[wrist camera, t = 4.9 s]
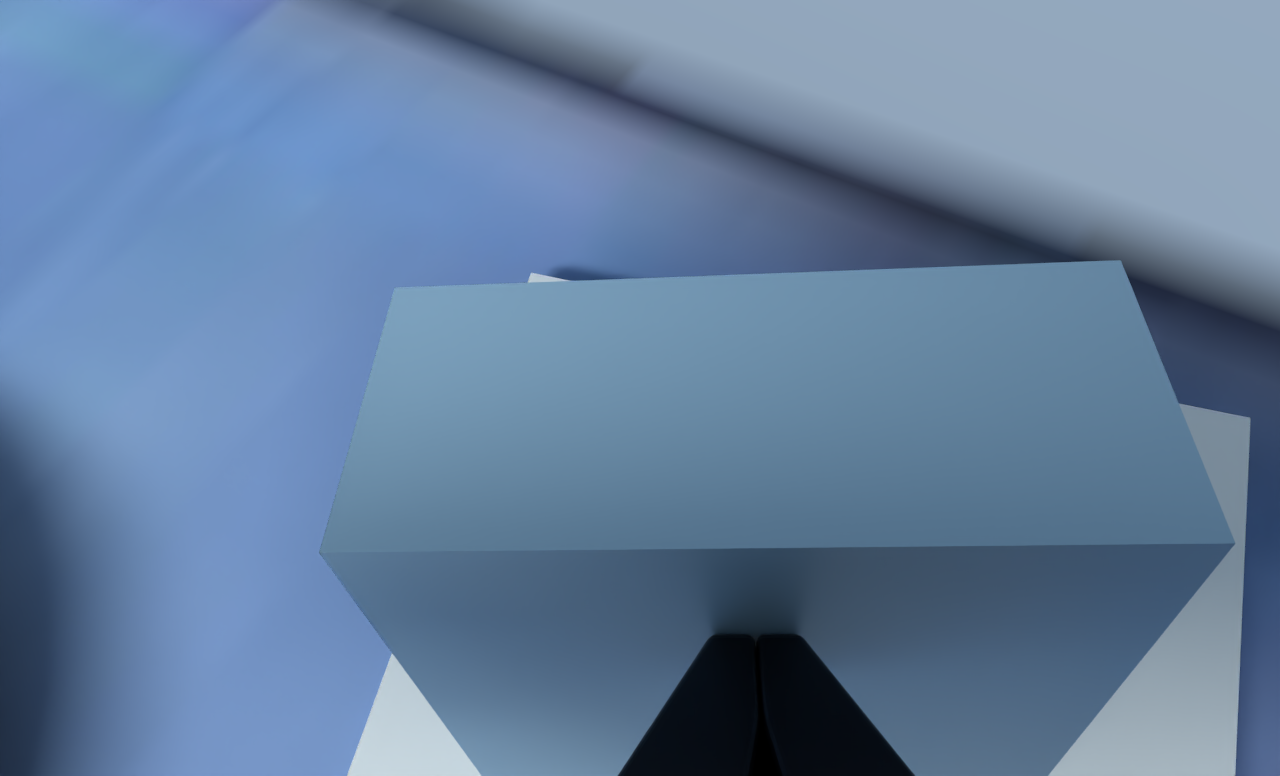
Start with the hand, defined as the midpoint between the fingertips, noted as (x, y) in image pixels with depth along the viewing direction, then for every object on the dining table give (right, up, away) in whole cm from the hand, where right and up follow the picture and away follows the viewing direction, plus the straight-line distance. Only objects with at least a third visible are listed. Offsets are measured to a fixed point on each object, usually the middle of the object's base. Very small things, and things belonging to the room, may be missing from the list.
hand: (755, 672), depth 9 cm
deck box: (+1, -2, +6) cm, 6 cm away
